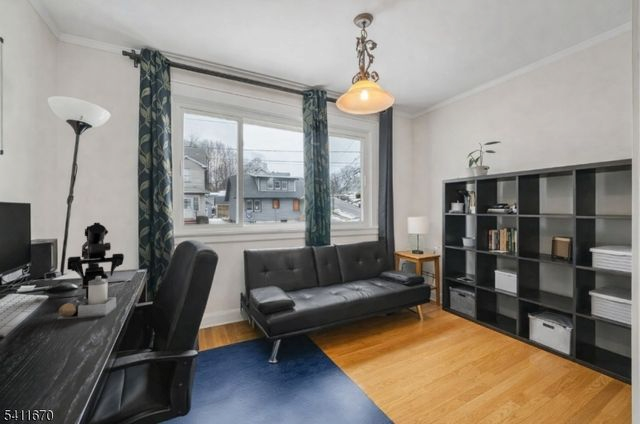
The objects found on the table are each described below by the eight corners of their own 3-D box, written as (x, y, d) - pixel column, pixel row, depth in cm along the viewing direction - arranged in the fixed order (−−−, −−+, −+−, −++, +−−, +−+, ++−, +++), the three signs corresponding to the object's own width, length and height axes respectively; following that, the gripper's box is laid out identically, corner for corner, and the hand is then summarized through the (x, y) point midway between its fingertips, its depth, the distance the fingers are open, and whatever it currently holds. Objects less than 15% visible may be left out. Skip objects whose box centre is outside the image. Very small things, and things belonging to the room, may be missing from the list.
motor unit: (71, 310, 111) (72, 296, 111) (116, 307, 116) (116, 294, 116) (56, 319, 102) (57, 304, 102) (105, 315, 107) (106, 301, 107)
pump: (86, 311, 110) (87, 276, 110) (105, 307, 114) (106, 274, 114) (89, 315, 106) (90, 279, 106) (108, 311, 110) (109, 276, 110)
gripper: (68, 237, 111) (68, 268, 103) (123, 235, 124) (127, 263, 116) (67, 254, 116) (67, 285, 108) (120, 250, 129) (123, 278, 121)
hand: (97, 277), depth 113 cm, fingers open, 9 cm apart
